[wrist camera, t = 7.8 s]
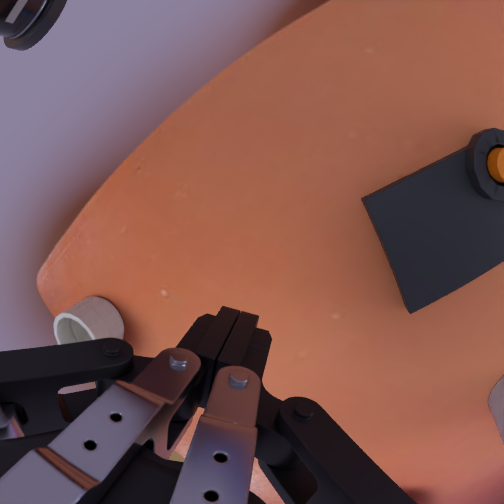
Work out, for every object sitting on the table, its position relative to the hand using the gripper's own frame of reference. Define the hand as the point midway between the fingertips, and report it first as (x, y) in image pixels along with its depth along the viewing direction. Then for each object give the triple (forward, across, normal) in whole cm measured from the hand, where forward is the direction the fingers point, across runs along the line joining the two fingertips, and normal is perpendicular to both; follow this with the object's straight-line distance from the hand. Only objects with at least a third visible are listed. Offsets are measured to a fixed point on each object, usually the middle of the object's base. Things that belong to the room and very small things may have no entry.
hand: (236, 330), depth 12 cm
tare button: (+10, -16, -12) cm, 22 cm away
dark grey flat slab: (+13, -14, -6) cm, 20 cm away
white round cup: (+13, +16, +12) cm, 24 cm away
